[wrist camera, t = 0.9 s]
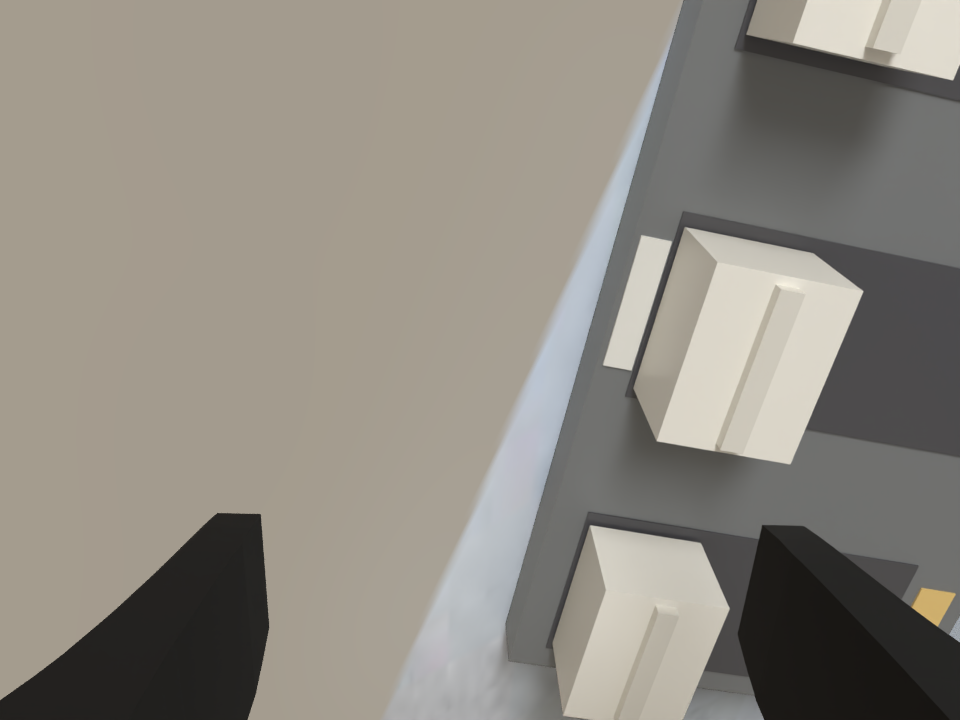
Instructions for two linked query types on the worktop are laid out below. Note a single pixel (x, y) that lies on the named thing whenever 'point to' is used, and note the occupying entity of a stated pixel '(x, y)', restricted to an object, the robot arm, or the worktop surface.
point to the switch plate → (858, 364)
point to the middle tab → (742, 345)
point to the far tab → (636, 627)
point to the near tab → (868, 31)
